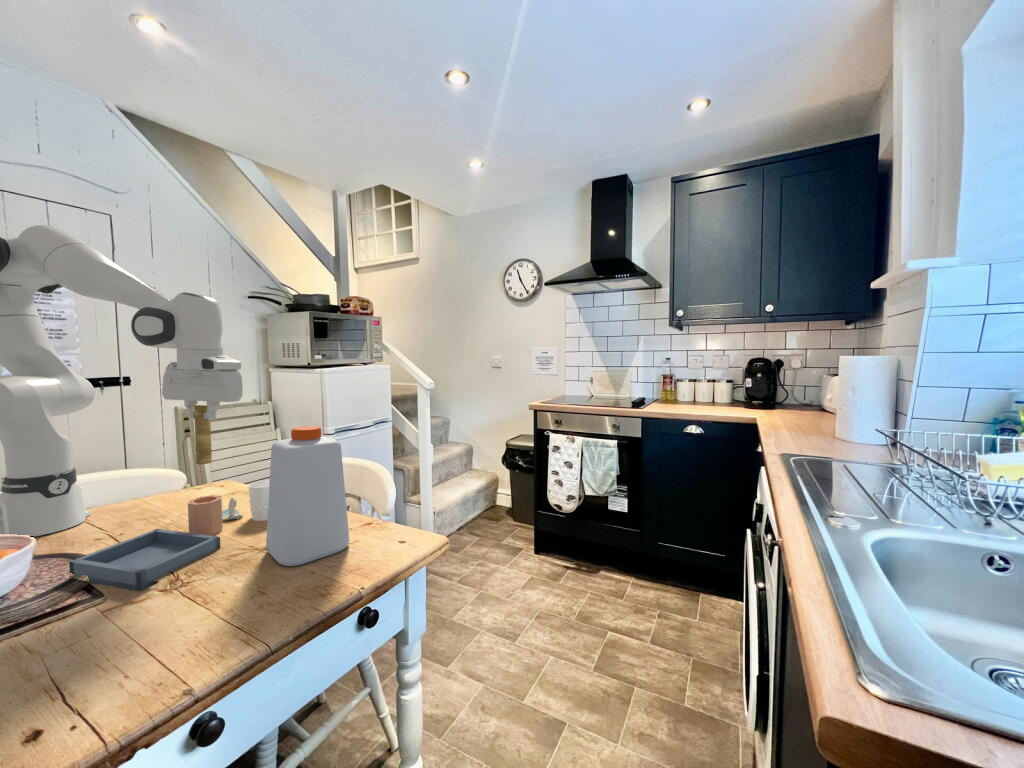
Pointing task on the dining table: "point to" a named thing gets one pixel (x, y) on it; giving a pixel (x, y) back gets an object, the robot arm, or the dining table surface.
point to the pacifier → (231, 510)
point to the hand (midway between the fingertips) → (202, 419)
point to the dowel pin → (202, 435)
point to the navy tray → (143, 558)
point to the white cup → (259, 499)
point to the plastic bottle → (306, 498)
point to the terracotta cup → (205, 515)
